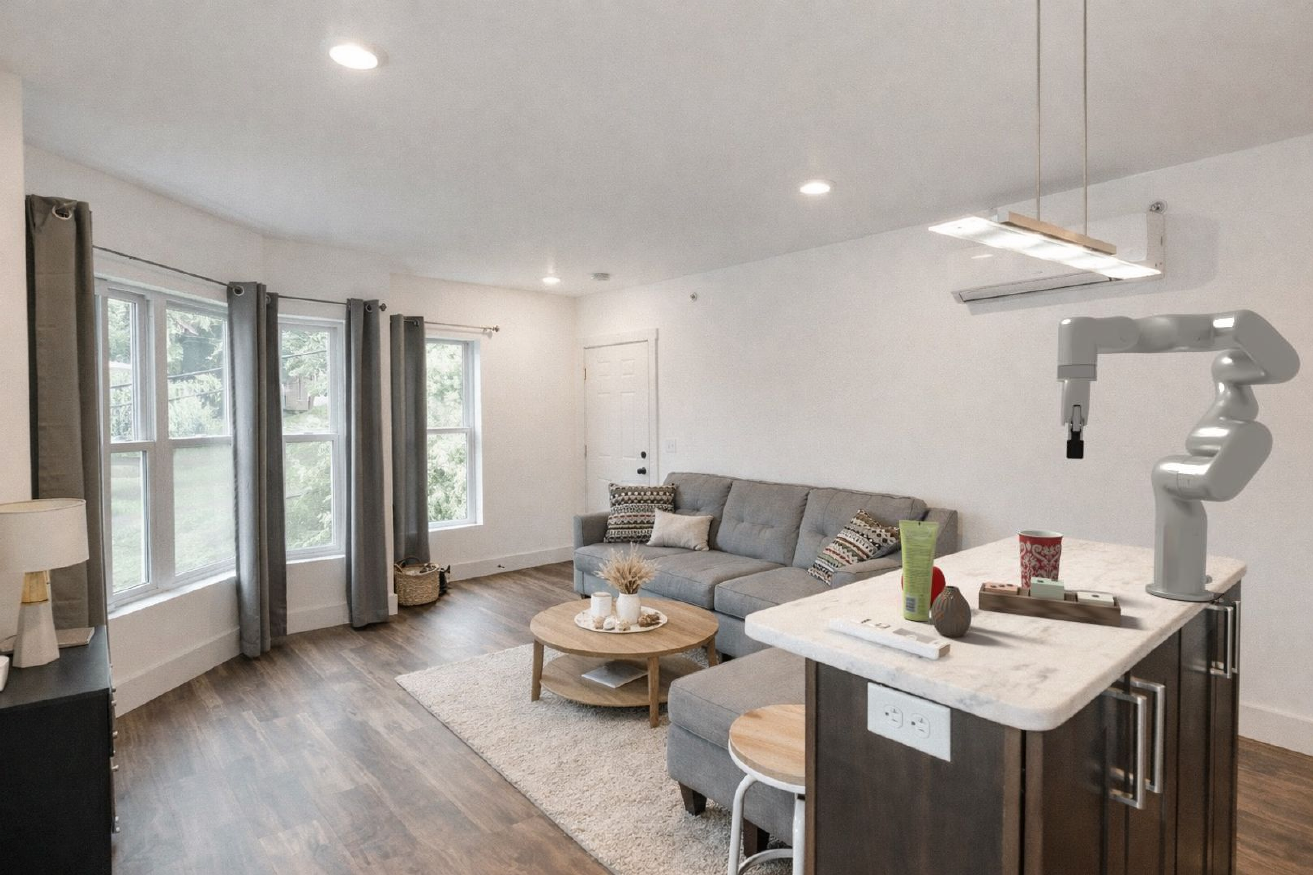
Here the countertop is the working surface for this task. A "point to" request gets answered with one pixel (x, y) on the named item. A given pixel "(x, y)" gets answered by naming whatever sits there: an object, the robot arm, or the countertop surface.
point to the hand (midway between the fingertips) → (1074, 458)
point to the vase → (951, 613)
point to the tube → (917, 567)
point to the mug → (1039, 555)
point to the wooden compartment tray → (1050, 607)
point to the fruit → (935, 583)
